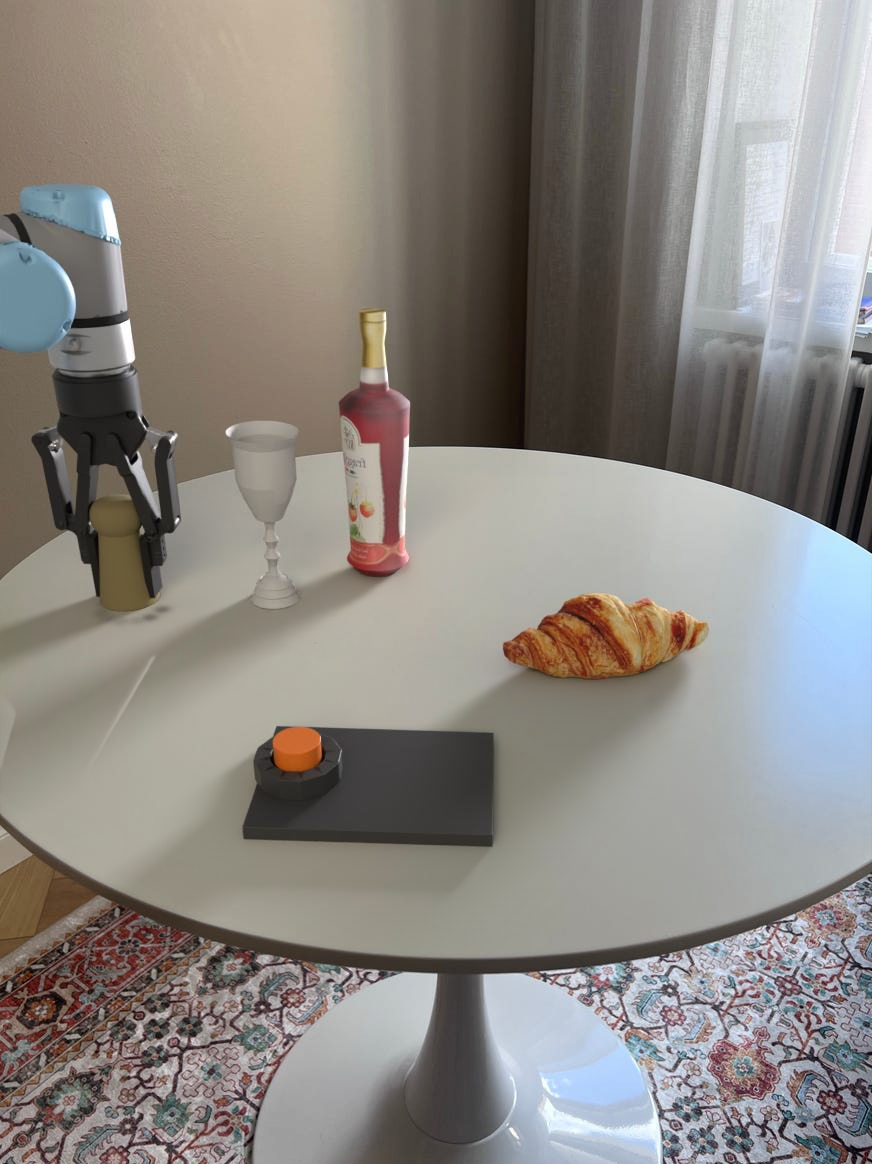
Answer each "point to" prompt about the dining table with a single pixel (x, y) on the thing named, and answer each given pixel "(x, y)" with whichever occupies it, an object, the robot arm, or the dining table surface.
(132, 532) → the cork
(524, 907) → the dining table surface
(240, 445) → the chalice
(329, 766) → the base
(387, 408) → the liquor
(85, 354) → the robot arm
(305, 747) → the switch
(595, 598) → the croissant
